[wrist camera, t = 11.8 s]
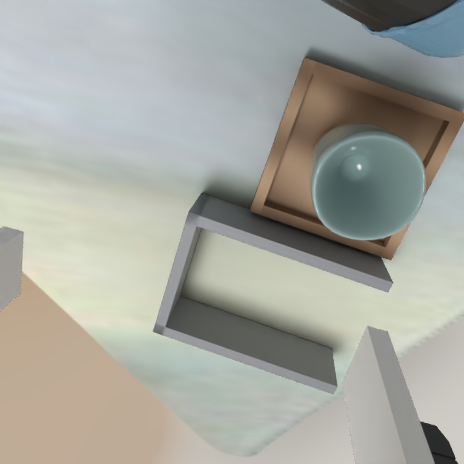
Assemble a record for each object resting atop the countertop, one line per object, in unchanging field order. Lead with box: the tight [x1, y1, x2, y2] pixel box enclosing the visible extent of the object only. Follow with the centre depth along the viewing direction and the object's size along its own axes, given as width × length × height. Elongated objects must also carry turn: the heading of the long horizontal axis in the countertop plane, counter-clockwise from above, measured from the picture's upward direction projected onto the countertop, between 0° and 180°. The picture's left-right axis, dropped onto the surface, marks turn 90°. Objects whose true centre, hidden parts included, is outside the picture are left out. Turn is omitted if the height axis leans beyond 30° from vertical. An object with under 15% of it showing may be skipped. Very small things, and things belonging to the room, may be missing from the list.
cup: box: [309, 122, 426, 240], centre depth 34 cm, size 8×8×10 cm
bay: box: [153, 193, 393, 394], centre depth 42 cm, size 13×18×6 cm
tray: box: [250, 58, 464, 260], centre depth 39 cm, size 14×14×2 cm
